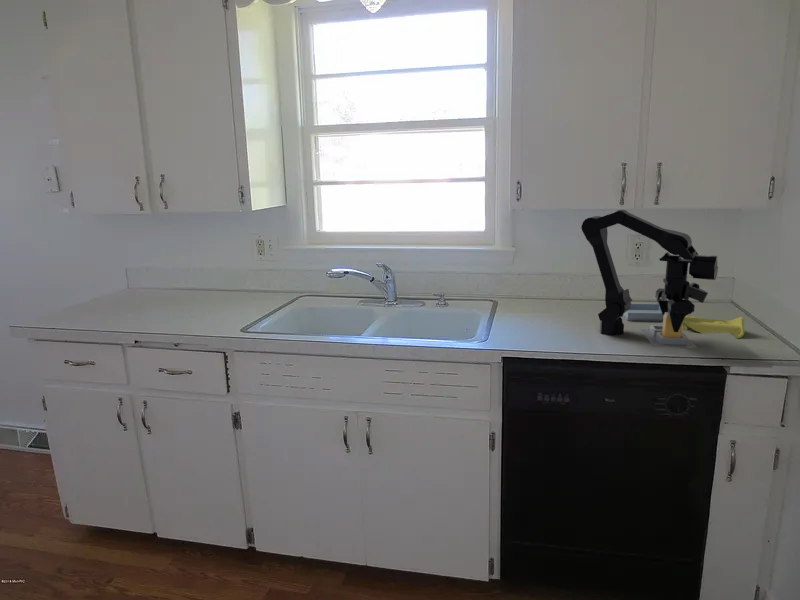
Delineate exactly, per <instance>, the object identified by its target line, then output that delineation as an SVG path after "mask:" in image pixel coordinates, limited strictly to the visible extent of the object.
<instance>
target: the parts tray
mask: <svg viewBox="0 0 800 600" xmlns="http://www.w3.org/2000/svg"><path fill="white" fill-rule="evenodd" d="M622 317H624V319H625V320H626V321H627V322H658V323H659V322H662V323H663V315H662V312H661V309H660V307H659V304H658V303H643V302H642V303H636V302H631V307H630V309H629V310H628V311H627V312H625V313H624V315H623V316H622Z"/></svg>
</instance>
